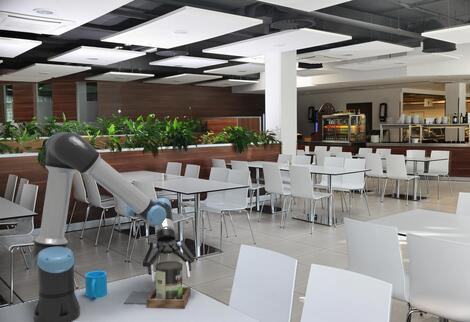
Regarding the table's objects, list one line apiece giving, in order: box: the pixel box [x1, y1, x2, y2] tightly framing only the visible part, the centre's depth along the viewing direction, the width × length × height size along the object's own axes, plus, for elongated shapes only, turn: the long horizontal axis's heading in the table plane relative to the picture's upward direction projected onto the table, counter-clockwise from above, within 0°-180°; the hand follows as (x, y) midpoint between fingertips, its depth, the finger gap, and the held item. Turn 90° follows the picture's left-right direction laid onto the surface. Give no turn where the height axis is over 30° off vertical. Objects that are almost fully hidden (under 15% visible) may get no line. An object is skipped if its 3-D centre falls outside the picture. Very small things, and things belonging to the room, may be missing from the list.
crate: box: [145, 286, 191, 310], centre depth 174 cm, size 14×14×3 cm
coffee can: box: [154, 260, 184, 300], centre depth 174 cm, size 10×10×14 cm
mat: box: [123, 290, 153, 305], centre depth 177 cm, size 9×12×1 cm
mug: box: [84, 270, 108, 299], centre depth 179 cm, size 12×8×8 cm
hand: (171, 280), depth 174 cm, fingers open, 13 cm apart
